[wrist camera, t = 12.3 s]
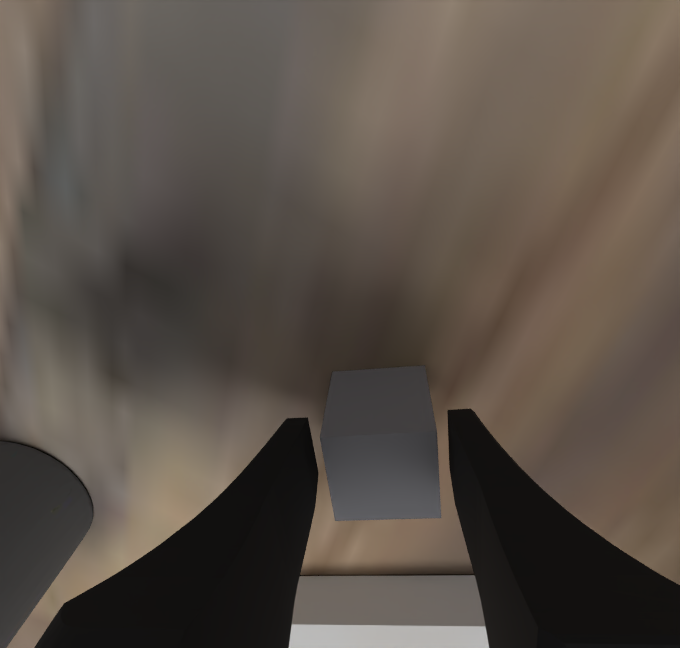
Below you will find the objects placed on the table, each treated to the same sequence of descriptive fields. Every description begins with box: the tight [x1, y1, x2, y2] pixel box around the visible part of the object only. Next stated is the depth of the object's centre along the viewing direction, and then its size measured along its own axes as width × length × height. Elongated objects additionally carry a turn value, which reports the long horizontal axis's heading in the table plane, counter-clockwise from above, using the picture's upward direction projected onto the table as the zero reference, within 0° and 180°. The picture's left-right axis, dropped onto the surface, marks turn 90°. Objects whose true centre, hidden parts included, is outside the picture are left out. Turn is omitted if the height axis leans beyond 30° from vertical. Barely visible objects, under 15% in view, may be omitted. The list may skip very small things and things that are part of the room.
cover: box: [320, 365, 441, 521], centre depth 14 cm, size 10×10×4 cm
